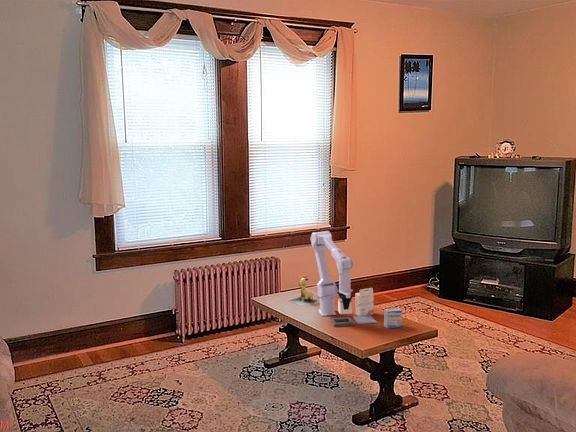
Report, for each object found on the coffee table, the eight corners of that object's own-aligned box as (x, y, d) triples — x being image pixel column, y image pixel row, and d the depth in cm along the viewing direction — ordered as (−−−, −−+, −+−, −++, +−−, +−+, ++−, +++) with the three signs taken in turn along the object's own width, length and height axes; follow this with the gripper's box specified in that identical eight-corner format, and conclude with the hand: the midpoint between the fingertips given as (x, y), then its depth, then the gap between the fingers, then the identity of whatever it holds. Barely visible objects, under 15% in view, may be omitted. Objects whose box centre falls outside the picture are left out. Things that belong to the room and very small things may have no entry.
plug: (338, 311, 287) (338, 298, 286) (349, 310, 288) (349, 297, 287) (340, 314, 284) (340, 300, 283) (351, 313, 284) (351, 299, 283)
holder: (330, 321, 289) (330, 318, 289) (349, 320, 291) (349, 317, 291) (334, 326, 282) (334, 323, 281) (353, 325, 283) (353, 322, 283)
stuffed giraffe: (287, 301, 326) (288, 274, 323) (310, 296, 337) (311, 270, 335) (305, 308, 314) (306, 280, 311) (329, 303, 325) (330, 276, 322)
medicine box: (387, 328, 277) (387, 311, 276) (383, 325, 282) (383, 309, 280) (402, 327, 279) (402, 310, 277) (398, 324, 283) (398, 307, 282)
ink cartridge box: (369, 312, 303) (369, 285, 301) (373, 314, 298) (373, 287, 296) (355, 314, 300) (354, 287, 298) (359, 317, 295) (359, 289, 293)
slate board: (352, 317, 295) (352, 316, 295) (370, 316, 296) (370, 315, 296) (358, 324, 284) (358, 323, 284) (376, 323, 285) (376, 321, 285)
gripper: (356, 285, 277) (356, 311, 279) (348, 277, 291) (349, 303, 293) (342, 285, 276) (342, 312, 278) (335, 278, 290) (335, 304, 292)
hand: (345, 307), depth 286 cm, fingers closed on plug, 4 cm apart
